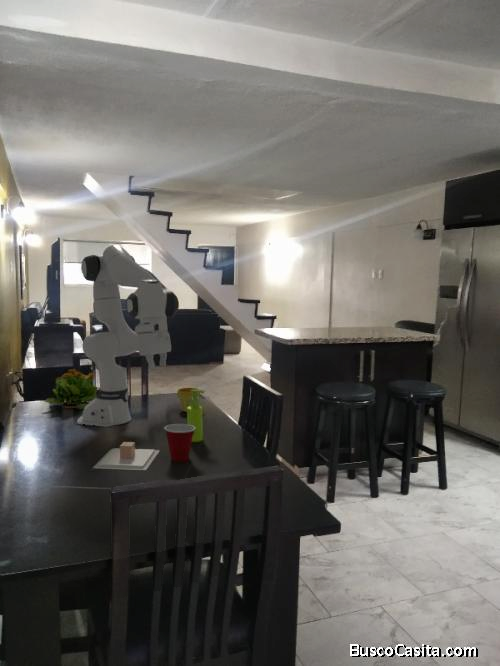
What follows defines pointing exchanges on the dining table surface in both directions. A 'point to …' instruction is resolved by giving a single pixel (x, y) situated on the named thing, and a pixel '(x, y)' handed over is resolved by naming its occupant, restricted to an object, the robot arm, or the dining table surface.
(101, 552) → the dining table surface
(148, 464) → the mat
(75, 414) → the dining table surface
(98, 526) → the dining table surface
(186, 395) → the plant pot
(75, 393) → the potted flower
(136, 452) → the lid
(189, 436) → the plastic cup
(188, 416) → the soap dispenser
